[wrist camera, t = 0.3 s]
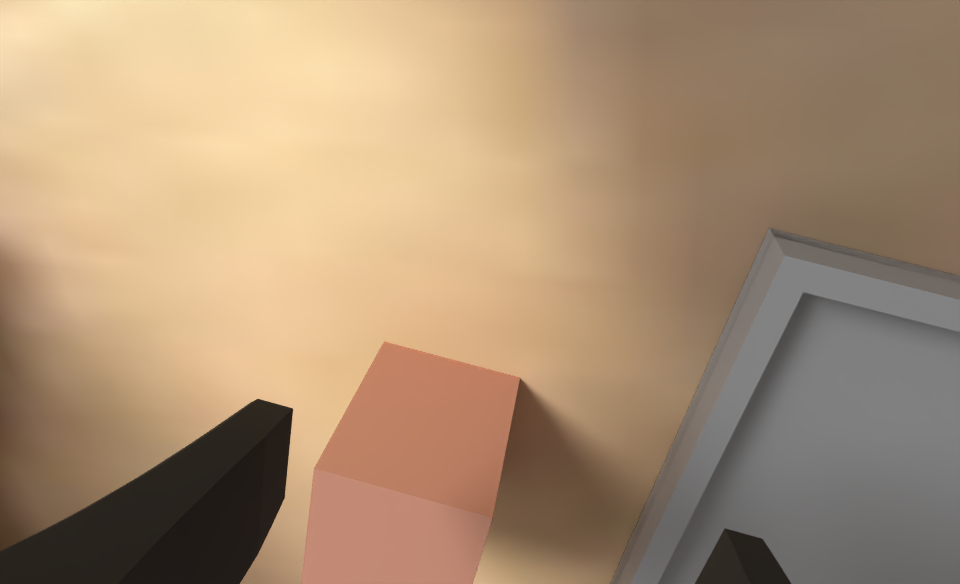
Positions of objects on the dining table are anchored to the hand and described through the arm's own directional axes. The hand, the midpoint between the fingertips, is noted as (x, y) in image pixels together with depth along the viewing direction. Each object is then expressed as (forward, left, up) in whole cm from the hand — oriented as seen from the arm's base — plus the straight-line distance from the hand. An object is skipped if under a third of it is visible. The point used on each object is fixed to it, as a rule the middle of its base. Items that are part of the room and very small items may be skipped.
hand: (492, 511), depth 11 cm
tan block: (-6, +2, -10) cm, 12 cm away
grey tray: (-5, -12, -10) cm, 16 cm away
